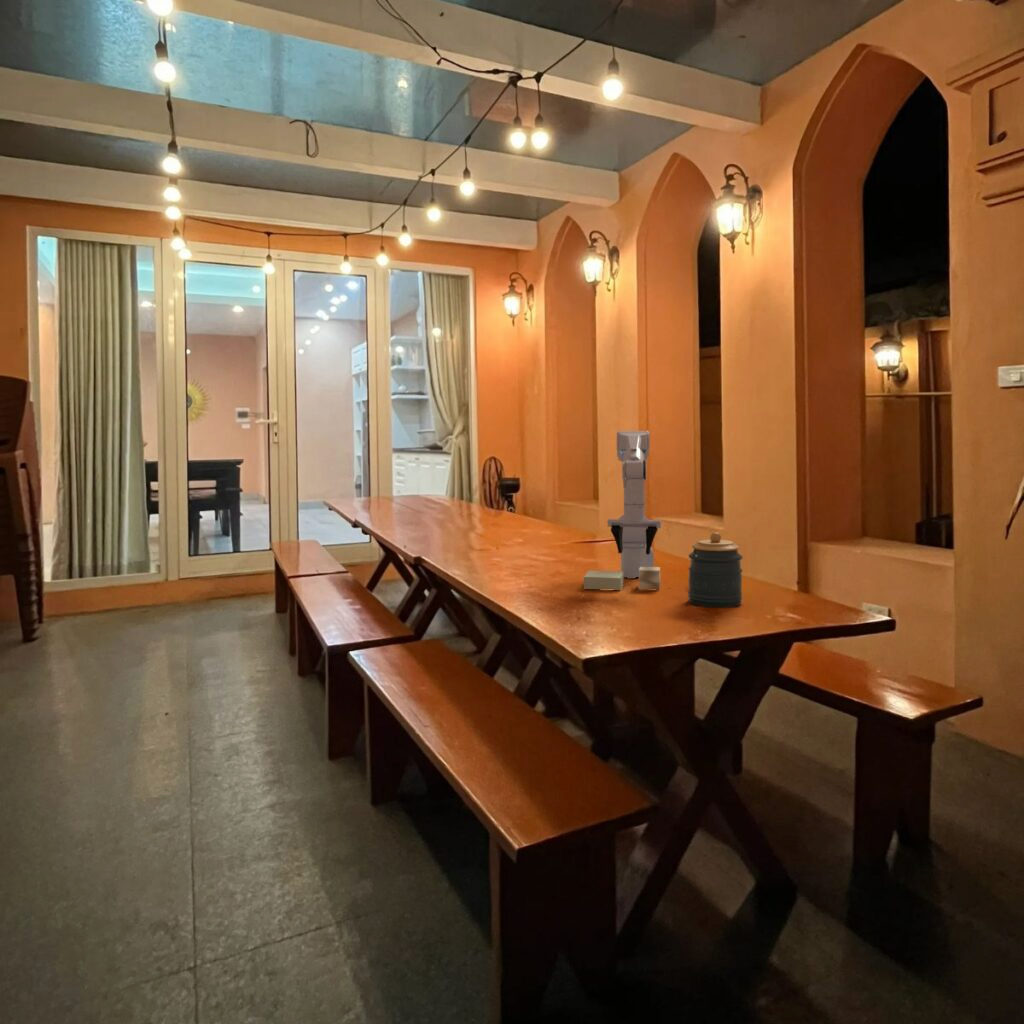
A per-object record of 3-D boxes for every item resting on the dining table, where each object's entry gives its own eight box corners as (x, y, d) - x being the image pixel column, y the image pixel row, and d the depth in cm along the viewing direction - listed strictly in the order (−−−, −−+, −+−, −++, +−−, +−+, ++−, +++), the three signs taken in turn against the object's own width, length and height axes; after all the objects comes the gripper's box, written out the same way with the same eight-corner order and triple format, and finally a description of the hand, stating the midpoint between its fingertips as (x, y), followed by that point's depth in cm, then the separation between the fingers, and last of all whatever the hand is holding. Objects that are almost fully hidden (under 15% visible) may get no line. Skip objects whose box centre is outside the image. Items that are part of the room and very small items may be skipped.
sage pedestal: (623, 583, 207) (623, 571, 207) (620, 590, 198) (620, 578, 197) (588, 582, 210) (588, 570, 209) (583, 589, 200) (583, 576, 200)
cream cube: (660, 586, 203) (660, 567, 202) (659, 590, 197) (659, 570, 197) (640, 586, 204) (640, 566, 204) (638, 590, 199) (638, 570, 198)
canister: (677, 599, 186) (678, 531, 184) (720, 595, 190) (721, 528, 188) (708, 610, 173) (709, 537, 172) (753, 605, 178) (754, 533, 176)
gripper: (604, 504, 198) (604, 554, 200) (658, 505, 193) (658, 556, 195) (610, 502, 205) (610, 550, 206) (662, 503, 200) (662, 552, 201)
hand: (634, 553), depth 201 cm, fingers open, 7 cm apart
